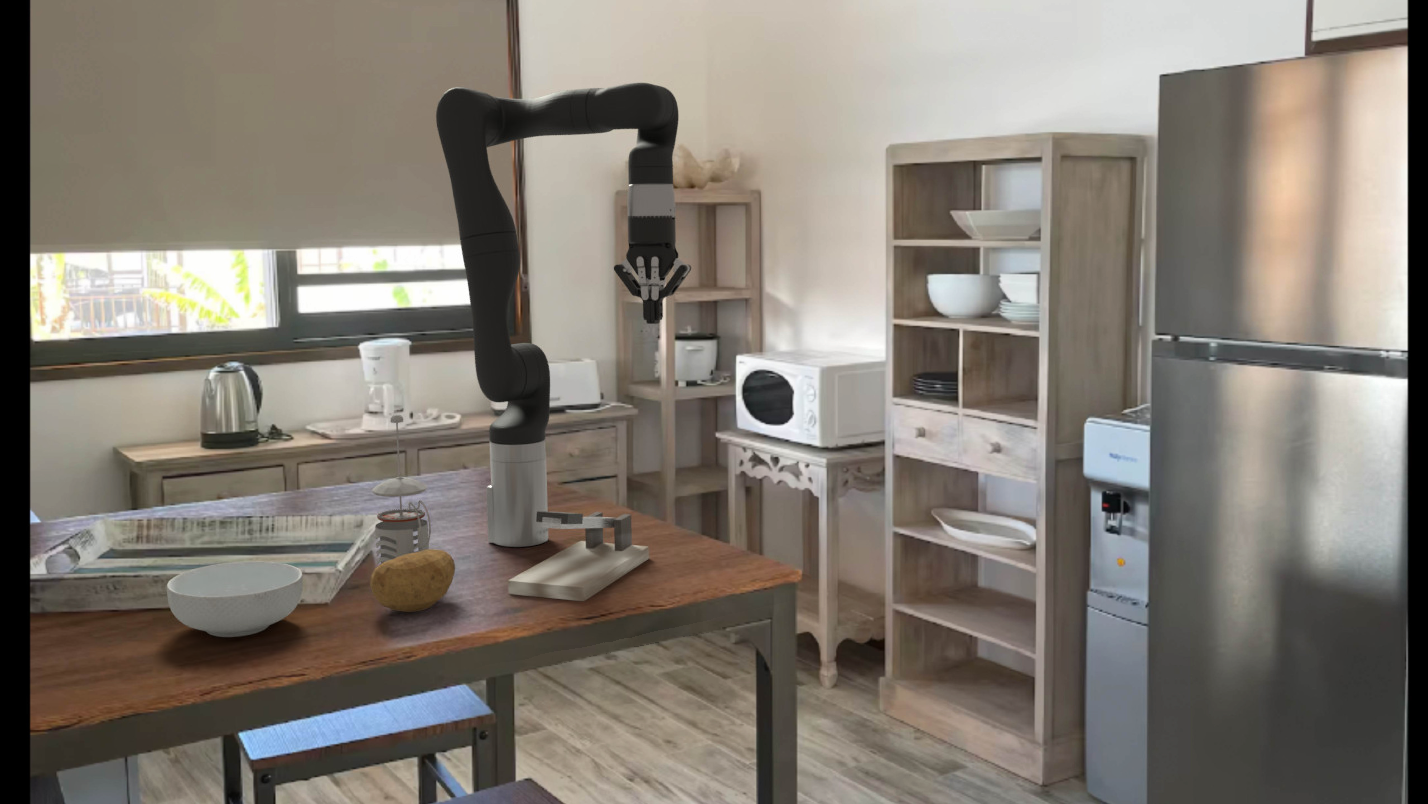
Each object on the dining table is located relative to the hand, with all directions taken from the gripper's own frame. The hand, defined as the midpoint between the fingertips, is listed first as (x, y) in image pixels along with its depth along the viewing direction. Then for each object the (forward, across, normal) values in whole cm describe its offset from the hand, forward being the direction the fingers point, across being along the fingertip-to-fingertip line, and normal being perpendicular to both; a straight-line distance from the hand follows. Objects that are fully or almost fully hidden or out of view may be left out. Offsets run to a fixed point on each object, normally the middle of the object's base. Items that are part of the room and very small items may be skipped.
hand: (653, 323), depth 205 cm
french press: (+37, -30, -27) cm, 55 cm away
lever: (+30, -5, -18) cm, 35 cm away
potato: (+37, -20, -40) cm, 58 cm away
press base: (+37, -5, -18) cm, 41 cm away
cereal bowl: (+37, -38, -55) cm, 77 cm away
